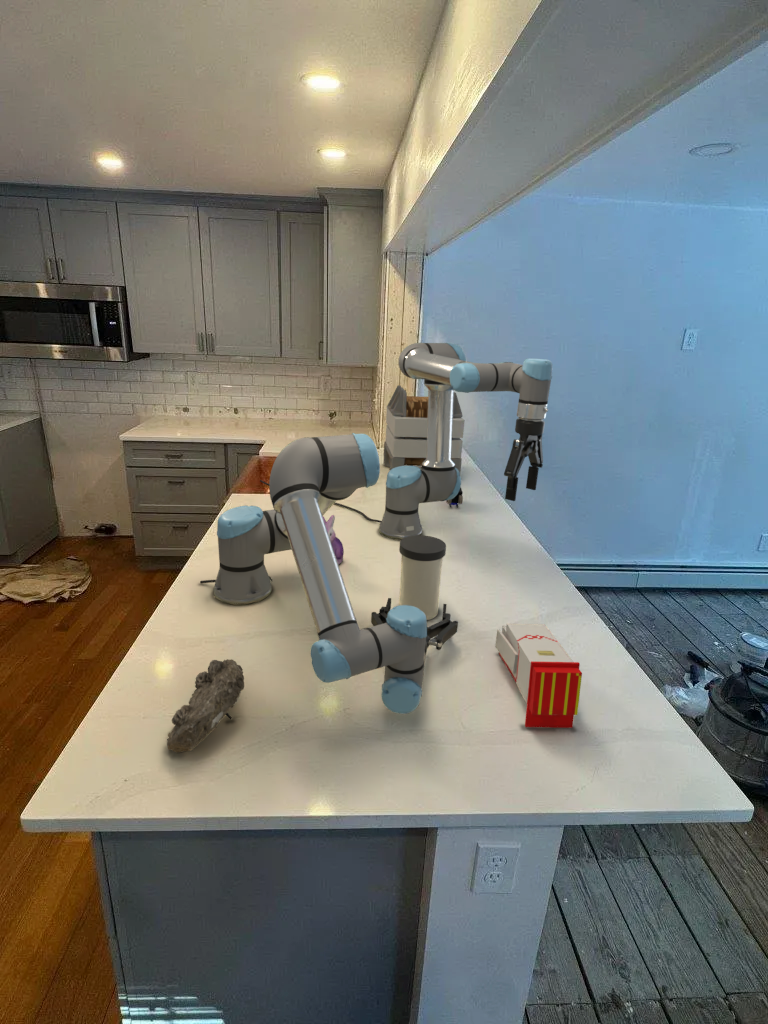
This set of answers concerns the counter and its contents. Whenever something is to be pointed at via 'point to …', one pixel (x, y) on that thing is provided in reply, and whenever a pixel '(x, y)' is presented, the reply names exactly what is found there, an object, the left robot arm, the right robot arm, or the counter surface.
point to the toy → (541, 674)
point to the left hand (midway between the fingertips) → (416, 605)
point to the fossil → (206, 705)
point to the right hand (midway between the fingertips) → (520, 494)
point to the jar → (420, 585)
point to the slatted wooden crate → (415, 431)
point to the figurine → (334, 539)
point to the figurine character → (456, 499)
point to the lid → (422, 548)
